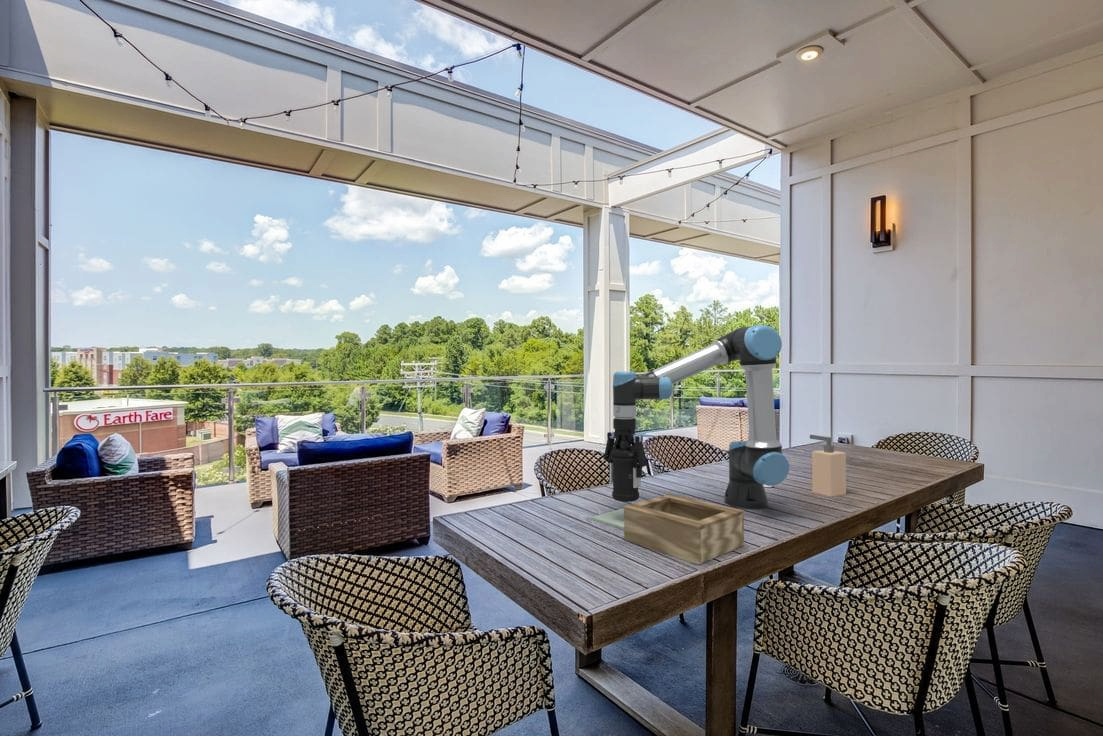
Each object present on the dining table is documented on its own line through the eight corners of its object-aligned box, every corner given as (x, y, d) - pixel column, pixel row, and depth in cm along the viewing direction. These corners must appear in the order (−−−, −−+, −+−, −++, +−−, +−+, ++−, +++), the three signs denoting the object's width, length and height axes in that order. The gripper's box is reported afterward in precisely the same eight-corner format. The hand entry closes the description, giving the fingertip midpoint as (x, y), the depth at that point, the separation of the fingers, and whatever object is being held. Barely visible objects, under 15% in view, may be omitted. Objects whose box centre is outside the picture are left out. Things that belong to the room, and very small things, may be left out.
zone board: (623, 510, 190) (623, 508, 190) (659, 520, 178) (659, 518, 178) (591, 519, 180) (591, 517, 180) (627, 530, 168) (627, 528, 168)
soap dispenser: (846, 494, 209) (846, 438, 209) (830, 496, 206) (830, 439, 205) (818, 487, 221) (818, 434, 220) (803, 489, 217) (803, 435, 217)
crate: (670, 524, 174) (669, 493, 173) (743, 545, 154) (743, 510, 154) (624, 539, 159) (623, 506, 159) (698, 564, 140) (698, 526, 139)
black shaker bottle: (618, 503, 172) (617, 441, 172) (605, 495, 183) (605, 437, 183) (644, 501, 175) (644, 440, 174) (630, 493, 185) (630, 435, 185)
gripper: (592, 416, 185) (593, 480, 185) (643, 421, 167) (643, 492, 168) (607, 414, 189) (608, 477, 190) (658, 419, 172) (658, 488, 173)
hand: (624, 484), depth 179 cm, fingers closed on black shaker bottle, 10 cm apart
